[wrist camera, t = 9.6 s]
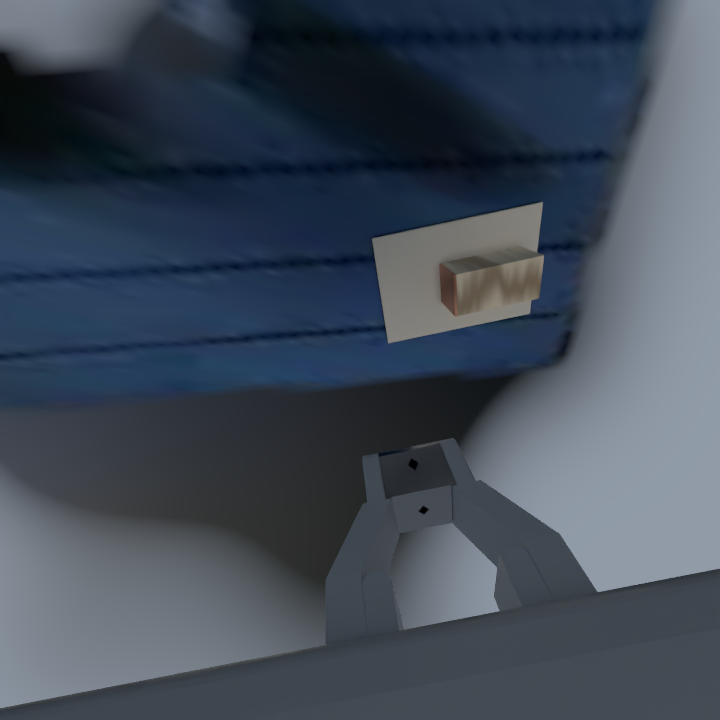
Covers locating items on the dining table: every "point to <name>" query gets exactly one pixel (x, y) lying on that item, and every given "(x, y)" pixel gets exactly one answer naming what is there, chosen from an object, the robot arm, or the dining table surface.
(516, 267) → the birch block
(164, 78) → the dining table surface
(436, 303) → the sand mat
